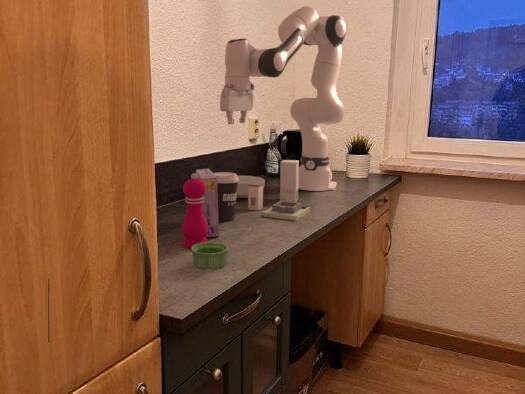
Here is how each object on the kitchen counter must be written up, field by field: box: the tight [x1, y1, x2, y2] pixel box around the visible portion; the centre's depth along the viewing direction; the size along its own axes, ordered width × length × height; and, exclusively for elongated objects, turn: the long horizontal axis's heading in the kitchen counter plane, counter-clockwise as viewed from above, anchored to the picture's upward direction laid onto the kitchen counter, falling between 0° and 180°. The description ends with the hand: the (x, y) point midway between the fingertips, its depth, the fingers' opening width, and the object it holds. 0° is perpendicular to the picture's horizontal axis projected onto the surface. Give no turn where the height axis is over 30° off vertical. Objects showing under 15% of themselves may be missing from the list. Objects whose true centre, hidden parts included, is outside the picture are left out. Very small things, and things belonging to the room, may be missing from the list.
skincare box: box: [279, 159, 300, 202], centre depth 188 cm, size 8×7×16 cm
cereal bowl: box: [236, 175, 266, 199], centre depth 195 cm, size 17×17×7 cm
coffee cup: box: [213, 171, 239, 222], centre depth 159 cm, size 10×10×15 cm
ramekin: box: [190, 241, 230, 270], centre depth 119 cm, size 9×9×4 cm
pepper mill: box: [181, 172, 208, 249], centre depth 131 cm, size 7×7×20 cm
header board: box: [262, 200, 311, 222], centre depth 168 cm, size 14×12×4 cm
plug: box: [247, 183, 264, 211], centre depth 175 cm, size 4×4×9 cm
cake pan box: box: [195, 168, 220, 238], centre depth 147 cm, size 19×5×18 cm, turn 13°
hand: (236, 123), depth 179 cm, fingers open, 8 cm apart
